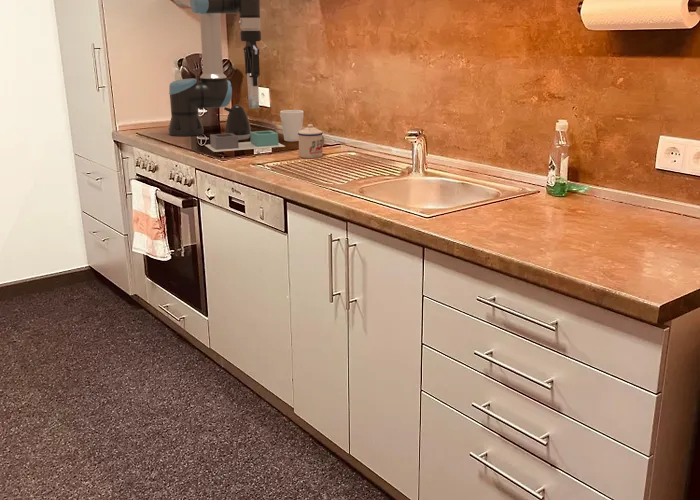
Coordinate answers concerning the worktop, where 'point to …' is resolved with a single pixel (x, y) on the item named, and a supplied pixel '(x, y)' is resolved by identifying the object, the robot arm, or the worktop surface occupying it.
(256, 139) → the socket
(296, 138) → the foam cup
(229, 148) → the mount board
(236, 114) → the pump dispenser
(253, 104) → the lock pin
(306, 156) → the teacup with lid
